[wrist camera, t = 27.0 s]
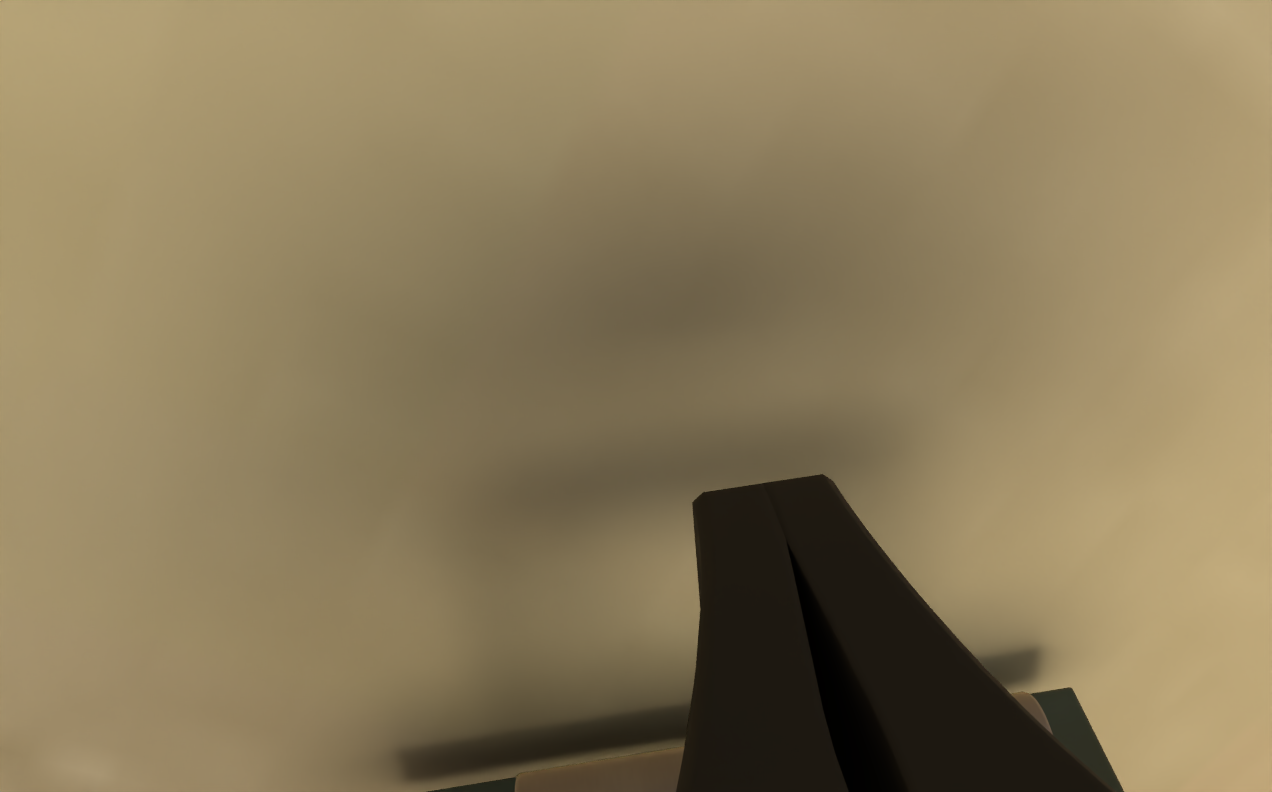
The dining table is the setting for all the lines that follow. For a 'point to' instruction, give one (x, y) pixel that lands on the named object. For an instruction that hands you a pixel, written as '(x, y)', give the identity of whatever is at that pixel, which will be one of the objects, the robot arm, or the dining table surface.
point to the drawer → (649, 780)
